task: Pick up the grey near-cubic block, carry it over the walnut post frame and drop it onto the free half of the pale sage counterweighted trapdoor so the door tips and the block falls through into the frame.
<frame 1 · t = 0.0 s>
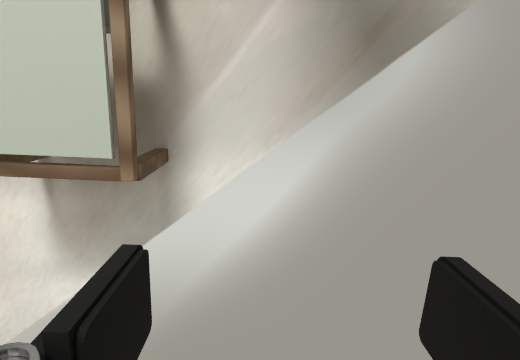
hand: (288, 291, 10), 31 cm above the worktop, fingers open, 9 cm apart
frame: (96, 82, 38), on the worktop
trapdoor: (50, 72, 30), point 9 cm above the worktop, hinge at 0.0°
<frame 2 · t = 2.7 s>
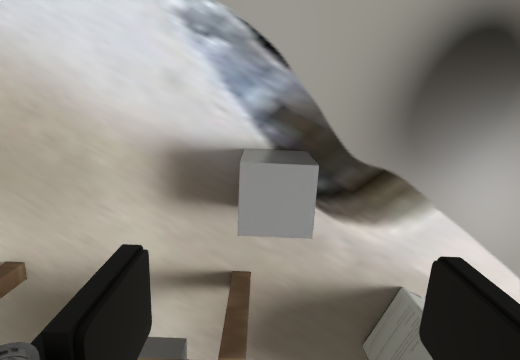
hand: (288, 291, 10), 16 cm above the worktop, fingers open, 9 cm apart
grey near-cubic block: (273, 179, 26), on the worktop
supplement box: (412, 328, 30), on the worktop
frame: (117, 345, 30), on the worktop
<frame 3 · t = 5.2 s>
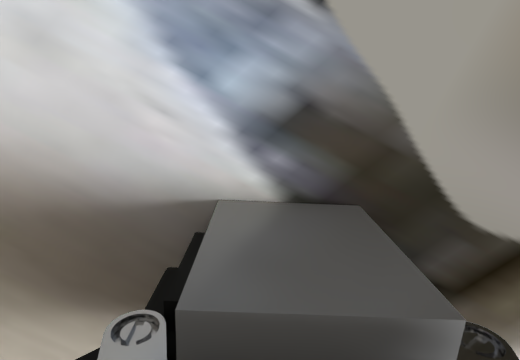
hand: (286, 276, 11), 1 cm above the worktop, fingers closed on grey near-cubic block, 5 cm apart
grey near-cubic block: (284, 266, 12), on the worktop, touching gripper
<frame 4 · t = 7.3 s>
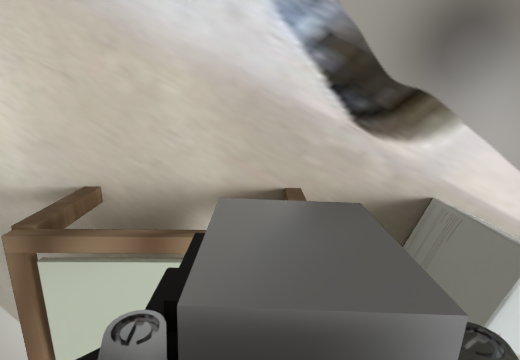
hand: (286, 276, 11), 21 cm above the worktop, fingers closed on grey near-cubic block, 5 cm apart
grey near-cubic block: (285, 264, 12), point 20 cm above the worktop, touching gripper
supplement box: (442, 237, 34), on the worktop
frame: (182, 262, 34), on the worktop
trapdoor: (165, 316, 26), point 9 cm above the worktop, hinge at 0.0°
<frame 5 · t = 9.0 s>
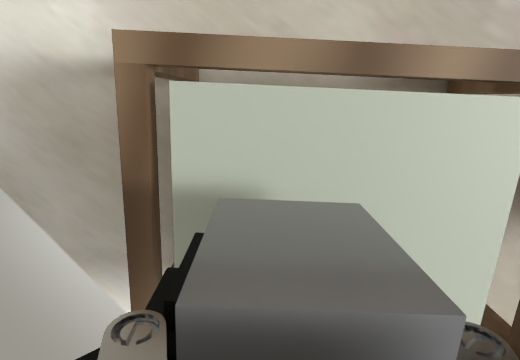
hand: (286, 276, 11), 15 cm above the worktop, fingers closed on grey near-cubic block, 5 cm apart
grey near-cubic block: (284, 264, 12), point 14 cm above the worktop, touching gripper
frame: (297, 175, 25), on the worktop
trapdoor: (326, 214, 17), point 9 cm above the worktop, hinge at 0.0°
when the fingers open (15 cm above the worktop, at t = 9.6 s): grey near-cubic block drops 8 cm and tips over, point 6 cm above the worktop.
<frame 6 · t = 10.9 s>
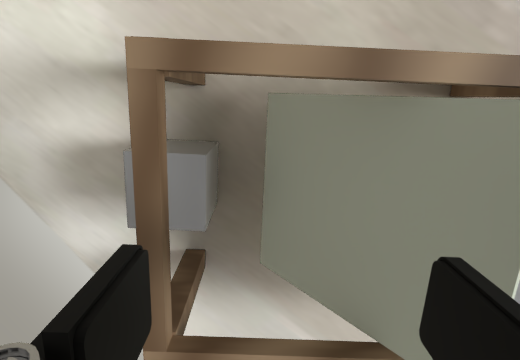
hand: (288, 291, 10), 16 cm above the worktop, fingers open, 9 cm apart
grey near-cubic block: (165, 192, 20), point 6 cm above the worktop, tilted 180°
frame: (301, 177, 26), on the worktop
trapdoor: (376, 206, 19), point 7 cm above the worktop, hinge at -51.4°
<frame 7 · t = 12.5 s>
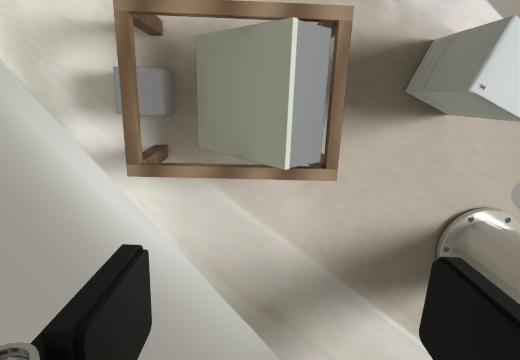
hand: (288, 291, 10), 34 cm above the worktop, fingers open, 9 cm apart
grey near-cubic block: (138, 91, 35), point 6 cm above the worktop, tilted 180°
supplement box: (440, 78, 42), on the worktop
frame: (226, 94, 41), on the worktop
trapdoor: (254, 96, 35), point 7 cm above the worktop, hinge at -49.7°
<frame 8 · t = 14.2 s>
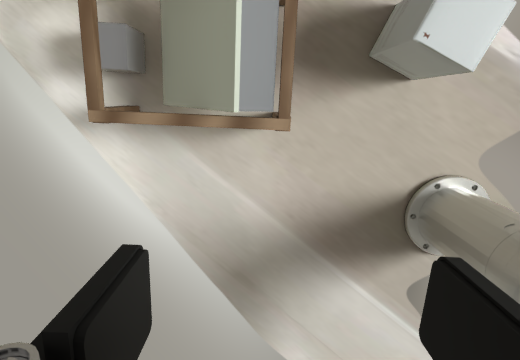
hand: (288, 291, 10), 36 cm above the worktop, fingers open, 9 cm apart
grey near-cubic block: (104, 45, 37), point 6 cm above the worktop, tilted 180°
supplement box: (404, 43, 42), on the worktop
frame: (195, 56, 43), on the worktop
trapdoor: (213, 50, 36), point 7 cm above the worktop, hinge at -48.1°
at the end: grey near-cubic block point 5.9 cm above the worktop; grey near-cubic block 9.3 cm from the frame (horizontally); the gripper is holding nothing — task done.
